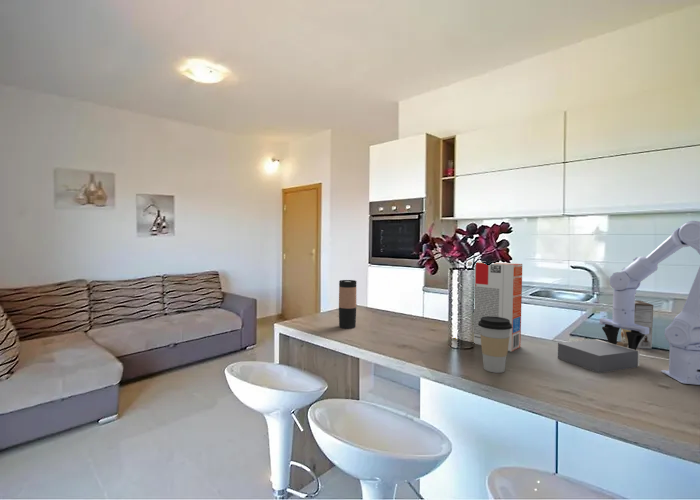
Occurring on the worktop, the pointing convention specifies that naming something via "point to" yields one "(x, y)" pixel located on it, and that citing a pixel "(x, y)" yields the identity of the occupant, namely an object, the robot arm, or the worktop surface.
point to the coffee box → (642, 323)
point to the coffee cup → (494, 342)
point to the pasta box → (498, 297)
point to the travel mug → (347, 304)
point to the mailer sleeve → (597, 355)
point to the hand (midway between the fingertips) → (622, 350)
